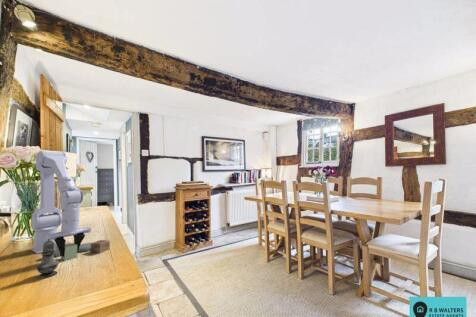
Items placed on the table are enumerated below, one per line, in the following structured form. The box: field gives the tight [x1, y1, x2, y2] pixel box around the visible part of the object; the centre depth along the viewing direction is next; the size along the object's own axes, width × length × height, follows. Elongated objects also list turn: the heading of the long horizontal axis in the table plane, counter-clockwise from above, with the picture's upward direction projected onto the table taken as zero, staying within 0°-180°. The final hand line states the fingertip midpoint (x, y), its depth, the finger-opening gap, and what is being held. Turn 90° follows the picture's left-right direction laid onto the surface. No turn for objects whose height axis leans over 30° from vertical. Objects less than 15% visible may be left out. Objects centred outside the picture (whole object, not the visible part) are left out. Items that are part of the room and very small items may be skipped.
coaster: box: [78, 242, 92, 253], centre depth 101 cm, size 10×10×1 cm
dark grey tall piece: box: [35, 239, 60, 280], centre depth 75 cm, size 6×6×12 cm
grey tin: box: [54, 243, 61, 259], centre depth 92 cm, size 4×4×5 cm
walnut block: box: [89, 239, 111, 254], centre depth 98 cm, size 5×5×4 cm
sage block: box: [60, 242, 78, 261], centre depth 90 cm, size 4×4×5 cm
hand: (69, 254), depth 90 cm, fingers closed on sage block, 4 cm apart
